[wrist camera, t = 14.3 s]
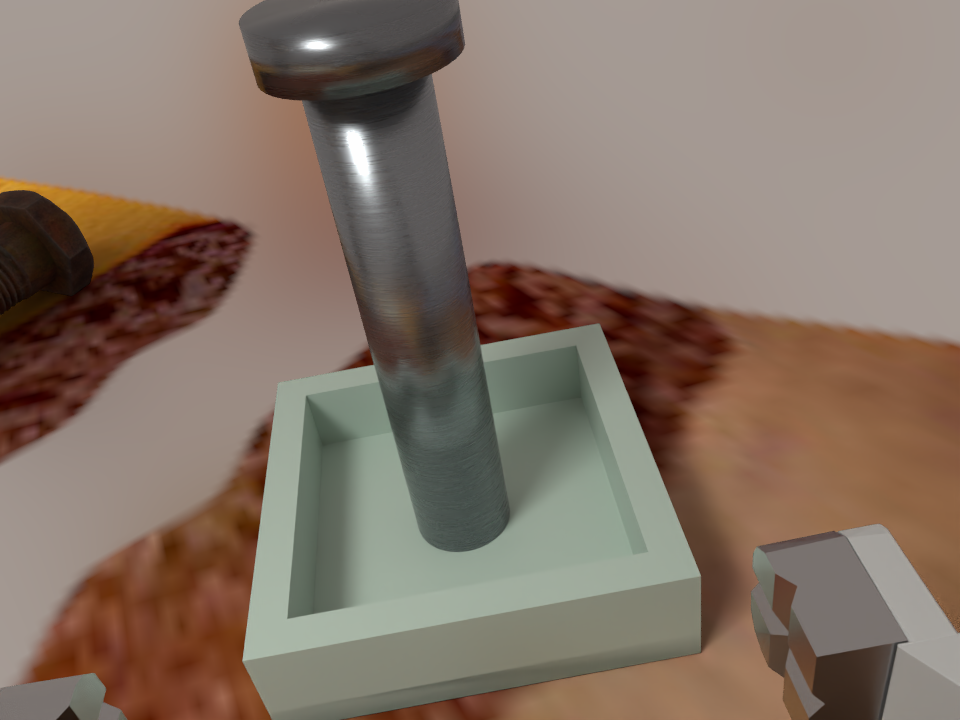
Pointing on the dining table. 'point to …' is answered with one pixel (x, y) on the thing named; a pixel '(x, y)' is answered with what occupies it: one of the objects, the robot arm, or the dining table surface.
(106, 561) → the dining table surface
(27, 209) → the bolt
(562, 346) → the tray
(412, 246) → the pin
